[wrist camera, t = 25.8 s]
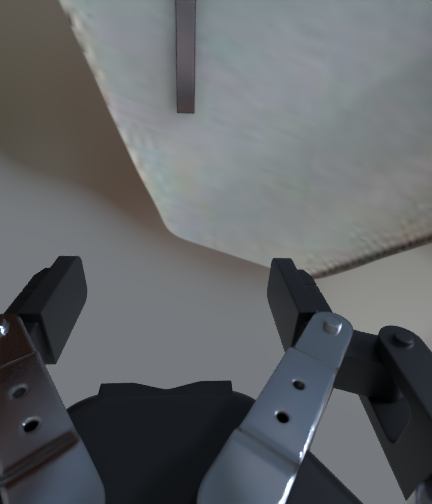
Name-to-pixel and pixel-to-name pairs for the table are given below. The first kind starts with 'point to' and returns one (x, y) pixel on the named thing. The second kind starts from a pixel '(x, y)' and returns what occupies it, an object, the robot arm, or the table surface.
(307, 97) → the table surface
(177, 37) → the wooden spoon
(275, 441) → the robot arm
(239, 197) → the table surface
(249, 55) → the table surface
